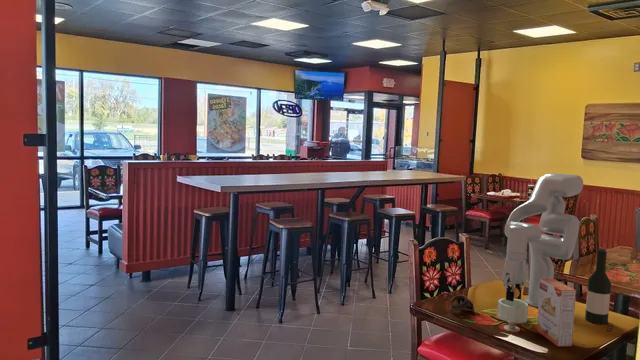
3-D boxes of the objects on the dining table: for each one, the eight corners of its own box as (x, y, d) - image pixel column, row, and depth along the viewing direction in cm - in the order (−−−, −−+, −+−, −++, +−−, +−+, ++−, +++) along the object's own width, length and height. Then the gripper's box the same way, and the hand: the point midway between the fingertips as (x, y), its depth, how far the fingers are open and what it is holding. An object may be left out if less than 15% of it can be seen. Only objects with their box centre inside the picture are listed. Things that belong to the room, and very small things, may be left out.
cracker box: (535, 331, 184) (539, 277, 182) (550, 331, 185) (554, 278, 183) (556, 347, 170) (560, 289, 168) (572, 347, 171) (577, 289, 169)
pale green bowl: (508, 311, 205) (509, 296, 205) (533, 319, 196) (534, 304, 195) (491, 316, 199) (492, 301, 198) (516, 325, 189) (517, 309, 189)
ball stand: (509, 325, 189) (510, 318, 189) (522, 330, 185) (523, 322, 184) (501, 328, 186) (501, 320, 186) (514, 333, 181) (514, 325, 181)
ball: (511, 295, 199) (512, 285, 199) (521, 298, 196) (522, 288, 196) (505, 297, 197) (506, 286, 197) (515, 300, 193) (515, 289, 193)
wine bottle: (588, 315, 203) (594, 245, 200) (610, 321, 197) (616, 249, 194) (581, 320, 197) (587, 248, 195) (604, 326, 191) (610, 252, 189)
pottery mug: (478, 317, 198) (471, 302, 196) (457, 325, 200) (449, 310, 197) (471, 301, 209) (465, 286, 207) (451, 308, 211) (444, 293, 209)
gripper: (519, 251, 203) (516, 293, 204) (495, 255, 193) (492, 300, 195) (536, 255, 197) (533, 298, 198) (512, 260, 187) (509, 305, 189)
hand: (513, 299), depth 196 cm, fingers closed on ball, 4 cm apart
